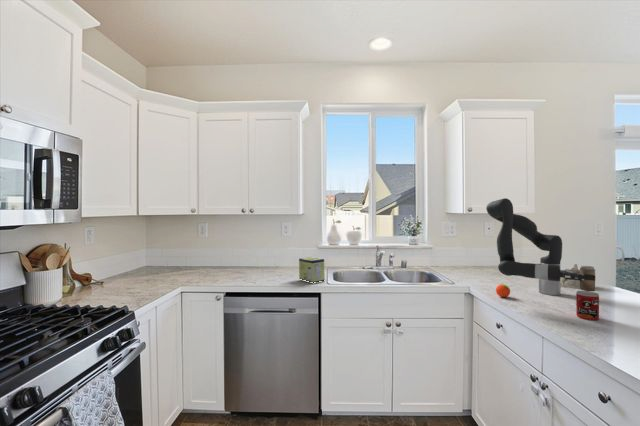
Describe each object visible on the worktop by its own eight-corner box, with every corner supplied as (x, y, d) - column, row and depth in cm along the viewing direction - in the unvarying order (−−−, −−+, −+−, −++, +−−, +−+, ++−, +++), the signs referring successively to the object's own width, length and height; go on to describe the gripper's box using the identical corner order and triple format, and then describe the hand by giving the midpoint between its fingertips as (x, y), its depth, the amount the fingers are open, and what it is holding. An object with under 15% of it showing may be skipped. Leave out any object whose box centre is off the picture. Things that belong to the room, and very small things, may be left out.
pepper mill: (577, 289, 141) (577, 266, 141) (583, 287, 143) (583, 265, 143) (591, 291, 136) (591, 268, 136) (597, 290, 138) (597, 267, 138)
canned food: (575, 318, 139) (575, 293, 139) (577, 313, 145) (577, 289, 145) (598, 322, 134) (598, 296, 134) (599, 317, 140) (599, 292, 140)
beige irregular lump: (594, 287, 193) (591, 262, 193) (574, 290, 188) (572, 265, 189) (567, 283, 208) (565, 260, 208) (549, 286, 203) (546, 262, 204)
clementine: (515, 298, 171) (515, 285, 171) (505, 299, 169) (504, 286, 169) (502, 294, 178) (502, 282, 178) (492, 296, 176) (492, 283, 176)
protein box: (310, 278, 228) (309, 256, 228) (325, 281, 217) (324, 259, 217) (298, 280, 221) (298, 258, 221) (313, 284, 210) (313, 260, 210)
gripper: (545, 266, 143) (595, 270, 132) (548, 262, 154) (594, 266, 143) (545, 282, 143) (595, 288, 132) (548, 277, 154) (594, 282, 143)
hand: (595, 276), depth 138 cm, fingers closed on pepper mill, 5 cm apart
